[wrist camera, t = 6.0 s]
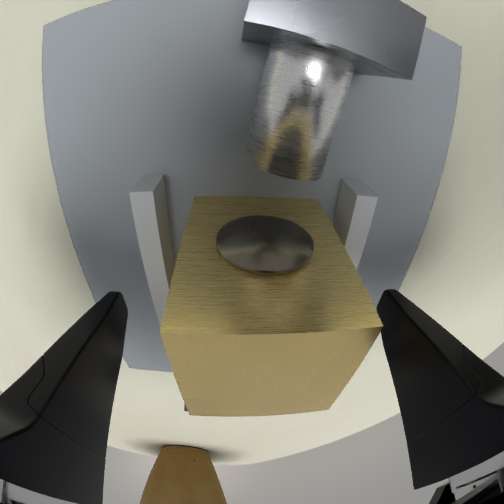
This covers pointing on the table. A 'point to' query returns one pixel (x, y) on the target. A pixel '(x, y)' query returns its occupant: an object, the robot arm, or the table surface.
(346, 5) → the shaft
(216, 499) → the plant pot
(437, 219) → the table surface
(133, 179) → the grey base plate
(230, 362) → the block
